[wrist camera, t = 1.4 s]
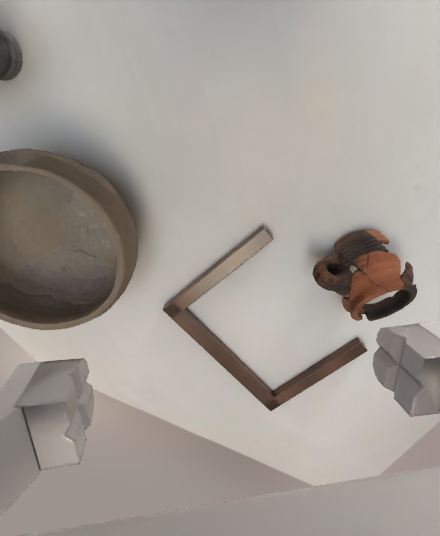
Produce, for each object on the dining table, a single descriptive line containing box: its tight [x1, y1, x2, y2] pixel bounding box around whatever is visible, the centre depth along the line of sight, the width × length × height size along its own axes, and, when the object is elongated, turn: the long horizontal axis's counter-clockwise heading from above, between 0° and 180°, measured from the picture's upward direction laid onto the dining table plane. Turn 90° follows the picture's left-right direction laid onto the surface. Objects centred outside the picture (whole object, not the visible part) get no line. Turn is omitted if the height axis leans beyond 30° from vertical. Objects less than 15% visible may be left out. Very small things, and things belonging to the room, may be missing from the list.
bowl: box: [0, 149, 138, 330], centre depth 35 cm, size 17×18×10 cm
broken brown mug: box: [313, 230, 417, 321], centre depth 39 cm, size 12×10×8 cm
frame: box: [163, 226, 367, 411], centre depth 44 cm, size 16×23×1 cm
